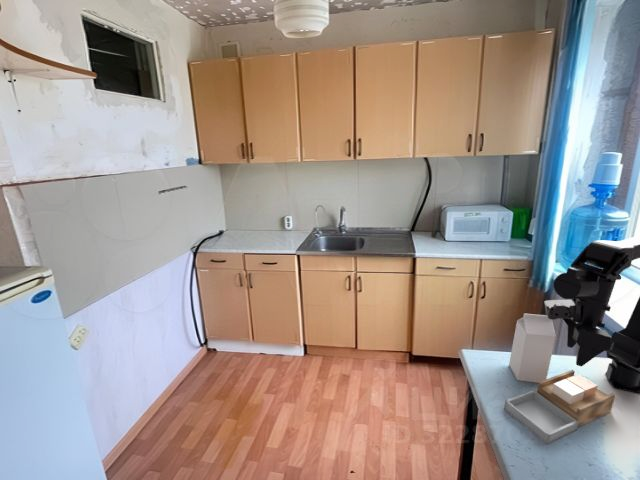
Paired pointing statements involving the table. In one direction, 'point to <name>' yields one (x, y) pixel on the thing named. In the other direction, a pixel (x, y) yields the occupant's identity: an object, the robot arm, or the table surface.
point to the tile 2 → (584, 385)
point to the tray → (541, 416)
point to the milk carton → (532, 348)
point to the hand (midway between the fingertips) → (573, 355)
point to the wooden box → (580, 409)
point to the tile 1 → (568, 391)
